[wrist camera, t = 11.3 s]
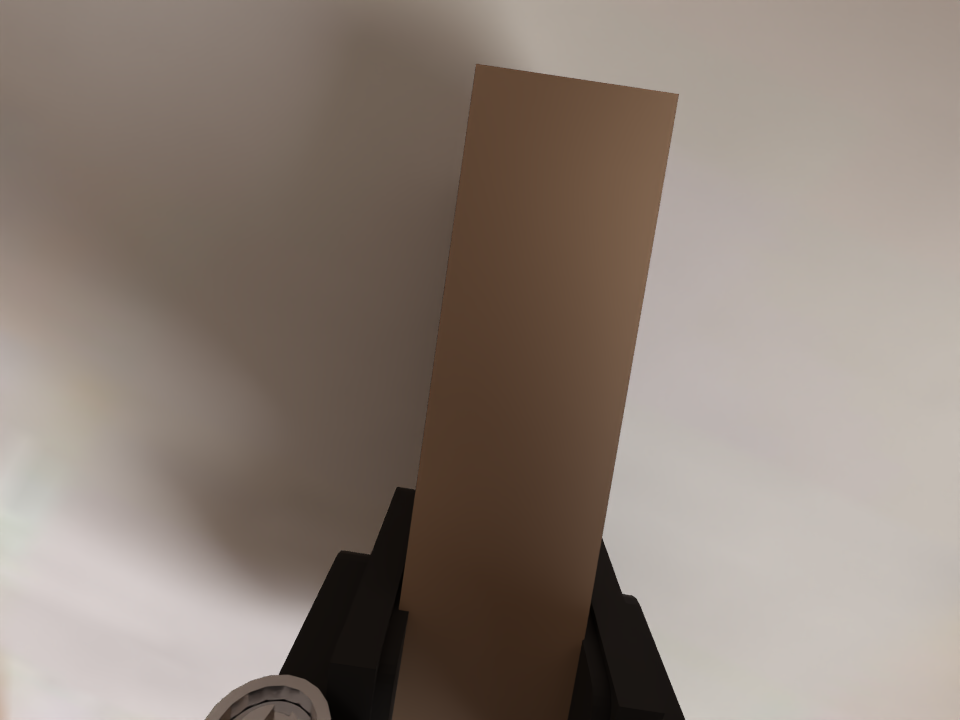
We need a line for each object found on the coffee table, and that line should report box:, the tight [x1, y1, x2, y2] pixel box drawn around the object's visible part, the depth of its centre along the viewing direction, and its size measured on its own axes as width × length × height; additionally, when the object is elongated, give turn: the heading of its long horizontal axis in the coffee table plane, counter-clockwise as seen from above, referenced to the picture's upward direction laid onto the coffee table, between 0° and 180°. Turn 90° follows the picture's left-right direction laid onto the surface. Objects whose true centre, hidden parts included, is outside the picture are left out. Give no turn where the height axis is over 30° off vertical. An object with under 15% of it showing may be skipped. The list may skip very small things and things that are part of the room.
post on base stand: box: [392, 64, 679, 720], centre depth 8 cm, size 7×13×5 cm, turn 172°
